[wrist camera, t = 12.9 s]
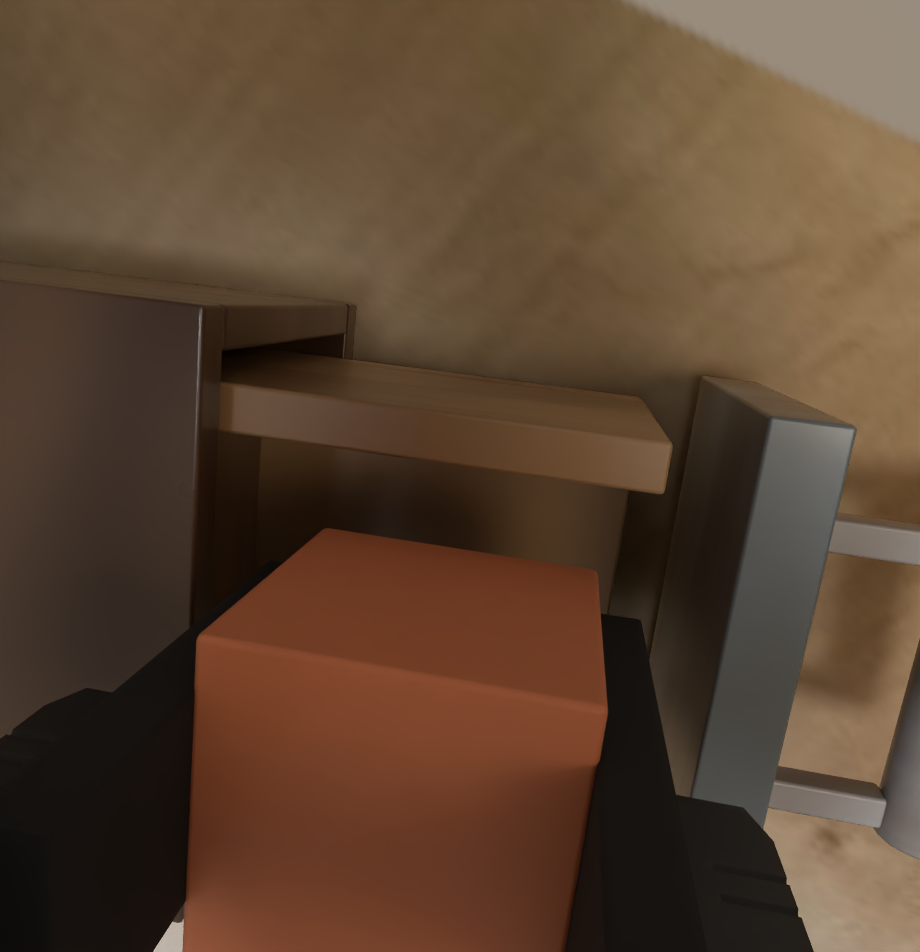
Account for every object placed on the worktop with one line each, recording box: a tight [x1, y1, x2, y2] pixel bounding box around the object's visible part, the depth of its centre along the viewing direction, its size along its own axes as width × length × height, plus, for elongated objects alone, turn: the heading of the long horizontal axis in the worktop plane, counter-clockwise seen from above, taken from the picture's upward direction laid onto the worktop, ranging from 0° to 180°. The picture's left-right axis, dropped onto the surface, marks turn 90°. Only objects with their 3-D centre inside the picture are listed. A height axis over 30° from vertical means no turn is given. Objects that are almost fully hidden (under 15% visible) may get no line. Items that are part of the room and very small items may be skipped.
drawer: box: [211, 347, 920, 859], centre depth 15 cm, size 16×9×6 cm, turn 84°
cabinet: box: [0, 261, 356, 923], centre depth 17 cm, size 12×10×8 cm
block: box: [183, 528, 608, 952], centre depth 11 cm, size 4×4×4 cm
